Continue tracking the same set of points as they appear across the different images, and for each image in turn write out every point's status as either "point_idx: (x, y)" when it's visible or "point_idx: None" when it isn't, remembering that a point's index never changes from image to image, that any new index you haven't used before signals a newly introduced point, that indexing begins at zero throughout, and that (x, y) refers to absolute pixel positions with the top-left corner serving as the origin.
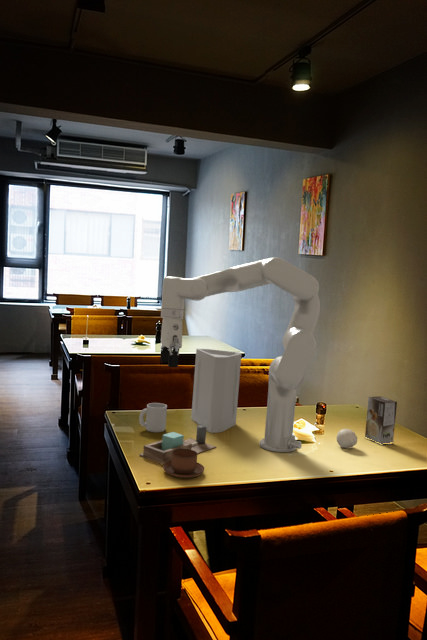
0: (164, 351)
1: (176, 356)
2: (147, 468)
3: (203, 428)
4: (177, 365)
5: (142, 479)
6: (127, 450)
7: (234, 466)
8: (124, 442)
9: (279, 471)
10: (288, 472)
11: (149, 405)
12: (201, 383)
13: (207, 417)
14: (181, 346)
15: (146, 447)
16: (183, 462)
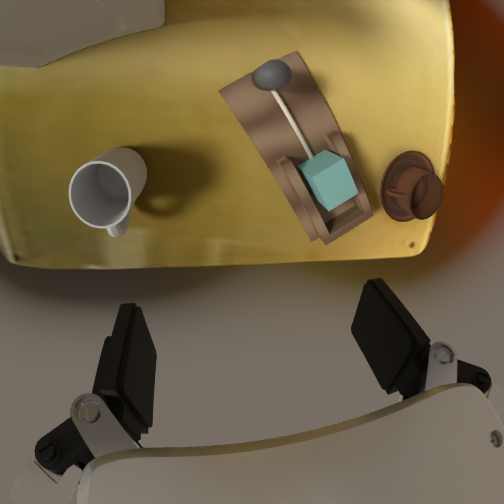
0: (143, 411)
1: (429, 346)
2: (370, 236)
3: (291, 74)
4: (384, 285)
5: (400, 250)
6: (276, 258)
7: (403, 78)
8: (224, 258)
9: (429, 25)
10: (432, 17)
11: (84, 215)
12: (2, 30)
13: (130, 21)
14: (480, 391)
15: (332, 240)
16: (433, 202)
